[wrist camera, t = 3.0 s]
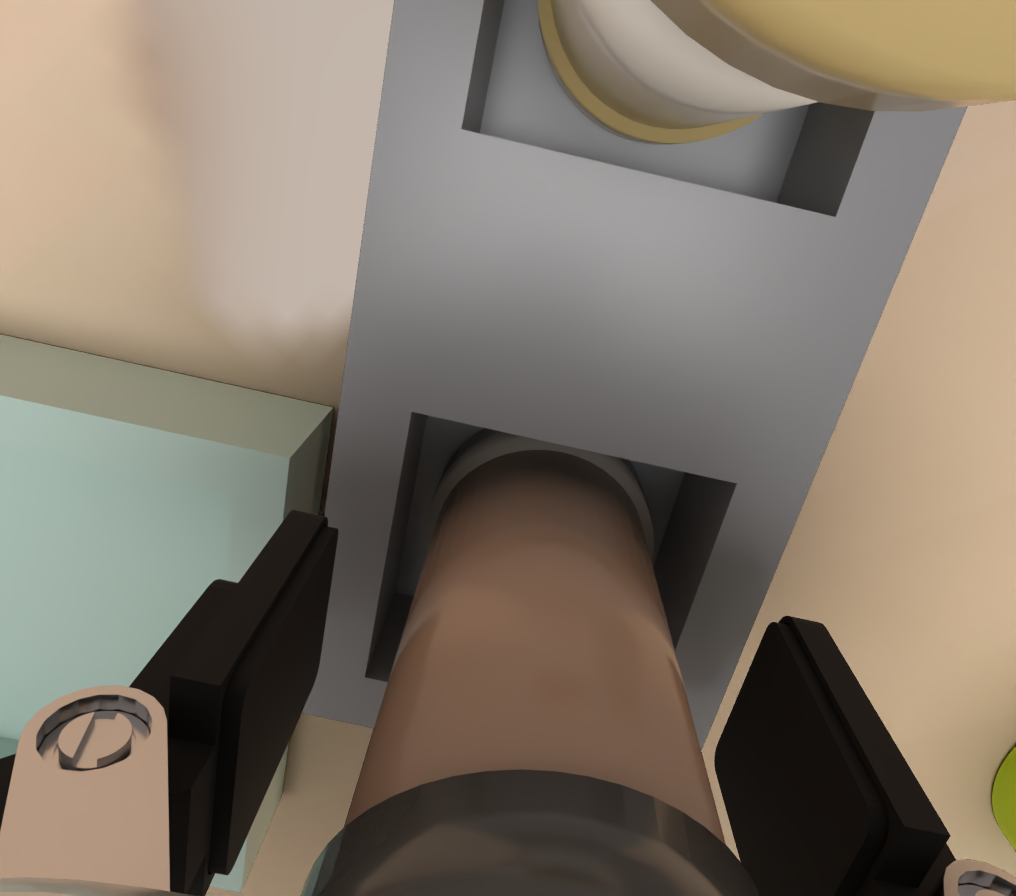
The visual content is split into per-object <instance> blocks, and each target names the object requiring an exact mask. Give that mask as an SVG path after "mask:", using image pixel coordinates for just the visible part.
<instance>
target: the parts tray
mask: <svg viewBox="0 0 1016 896" xmlns="http://www.w3.org/2000/svg"><path fill="white" fill-rule="evenodd" d="M332 414H333V407H329V406H325V405H320V404H316V403H311V402H307V401H302V400H297V399H293V398H288V397H284V396H279V395H275V394H270V393H266V392H261V391H257V390H252V389H247V388H243V387H238V386H234V385H229V384H225V383H220V382H216V381H211V380H207V379H202V378H197V377H193V376H188V375H184V374H179V373H175V372H170V371H166V370H161V369H156V368H152V367H147V366H143V365H138V364H134V363H129V362H125V361H120V360H116V359H111V358H106V357H102V356H97V355H93V354H88V353H84V352H79V351H75V350H70V349H66V348H61V347H56V346H52V345H47V344H43V343H38V342H34V341H29V340H25V339H20V338H16V337H11V336H6V335H2V334H0V759H1V758H4V757H7V756H10V755H13V754H16V752H17V747H18V742H19V739H20V737H21V734H22V732H23V730H24V728H25V725H26V724H27V723H28V722H29V721H30V720H31V718H32V717H33V716H34V715H35V714H36V713H37V712H38V711H39V710H40V709H42V708H43V707H45V706H46V705H48V704H49V703H51V702H53V701H54V700H56V699H57V698H60V697H62V696H65V695H67V694H70V693H72V692H75V691H77V690H81V689H86V688H91V687H96V686H125V687H129V686H130V685H131V683H132V682H133V681H134V680H135V678H136V677H137V676H138V675H139V673H140V672H141V671H142V670H143V668H144V667H145V666H146V664H147V663H148V662H149V661H150V659H151V658H152V657H153V656H154V654H155V653H156V652H157V651H158V649H159V648H160V647H161V646H162V644H163V643H164V642H165V640H166V639H167V638H168V637H169V635H170V634H171V633H172V632H173V630H174V629H175V628H176V627H177V625H178V624H179V623H180V622H181V620H182V619H183V618H184V616H185V615H186V614H187V613H188V611H189V610H190V609H191V608H192V606H193V605H194V604H195V603H196V601H197V600H198V599H199V598H200V596H201V595H202V594H203V592H204V591H205V590H206V589H207V587H208V586H209V585H210V584H211V583H212V582H213V581H214V580H217V579H222V580H227V581H231V582H236V583H238V582H239V581H240V580H241V578H242V577H243V575H244V574H245V573H246V571H247V570H248V569H249V567H250V566H251V564H252V563H253V562H254V560H255V559H256V558H257V556H258V555H259V553H260V552H261V551H262V549H263V548H264V547H265V545H266V544H267V542H268V541H269V540H270V538H271V537H272V536H273V534H274V533H275V531H276V530H277V529H278V527H279V526H280V525H281V523H282V522H283V520H284V519H285V518H286V516H287V515H288V514H289V512H290V511H291V510H297V511H301V512H306V513H311V514H315V515H319V512H320V504H321V497H322V489H323V482H324V474H325V467H326V459H327V452H328V444H329V437H330V429H331V422H332ZM288 745H289V743H288ZM288 745H287V747H286V749H285V752H284V754H283V756H282V758H281V761H280V763H279V765H278V767H277V770H276V772H275V774H274V776H273V779H272V781H271V783H270V785H269V788H268V790H267V792H266V795H265V797H264V799H263V801H262V804H261V806H260V808H259V810H258V813H257V815H256V817H255V819H254V822H253V824H252V826H251V828H250V831H249V833H248V835H247V838H246V840H245V842H244V844H243V847H242V849H241V851H240V853H239V856H238V858H237V860H236V862H235V865H234V867H233V869H232V871H231V872H230V874H229V875H222V874H217V873H215V875H214V877H213V879H212V882H211V884H210V886H209V887H212V888H218V889H223V890H228V891H233V892H238V893H241V892H242V890H243V887H244V885H245V882H246V880H247V878H248V875H249V873H250V870H251V868H252V866H253V863H254V861H255V858H256V856H257V854H258V851H259V849H260V846H261V844H262V842H263V839H264V837H265V834H266V832H267V830H268V827H269V825H270V822H271V820H272V818H273V815H274V813H275V810H276V808H277V806H278V803H279V801H280V798H281V796H282V790H283V783H284V775H285V768H286V760H287V753H288Z"/></svg>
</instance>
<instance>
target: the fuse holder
mask: <svg viewBox="0 0 1016 896" xmlns="http://www.w3.org/2000/svg"><path fill="white" fill-rule="evenodd" d="M966 109H967V106H965V107H957V108H949V109H941V110H933V111H924V112H913V111H869V110H863V109H857V108H851V107H845V106H838V105H832V104H826V103H821V102H816V103H812V104H807V105H803V106H798V107H793V108H789V109H784V110H779V111H775V112H770V113H766V114H763V115H761V116H760V117H759V118H757V119H755V120H754V121H752V122H750V123H748V124H746V125H745V126H743V127H741V128H739V129H737V130H734V131H732V132H729V133H727V134H724V135H722V136H718V137H715V138H711V139H707V140H703V141H696V142H688V143H680V144H672V145H652V144H646V143H639V142H635V141H631V140H628V139H625V138H622V137H619V136H617V135H615V134H613V133H611V132H609V131H607V130H605V129H603V128H602V127H600V126H599V125H597V124H596V123H594V122H593V121H591V120H590V119H589V118H588V117H587V116H586V115H585V114H583V113H582V112H581V111H580V110H579V109H578V108H577V107H576V106H575V104H574V103H573V102H572V101H571V100H570V99H569V97H568V96H567V95H566V93H565V92H564V90H563V89H562V87H561V86H560V84H559V82H558V81H557V79H556V77H555V75H554V73H553V71H552V68H551V66H550V64H549V61H548V58H547V55H546V52H545V49H544V46H543V42H542V37H541V32H540V27H539V17H538V4H537V0H394V6H393V14H392V21H391V29H390V36H389V43H388V50H387V58H386V65H385V72H384V80H383V88H382V95H381V102H380V109H379V117H378V124H377V131H376V139H375V146H374V153H373V161H372V168H371V176H370V183H369V190H368V198H367V205H366V212H365V220H364V227H363V234H362V242H361V249H360V257H359V264H358V272H357V279H356V286H355V293H354V301H353V308H352V315H351V323H350V330H349V337H348V345H347V352H346V359H345V367H344V374H343V381H342V389H341V396H340V404H339V411H338V418H337V426H336V433H335V440H334V448H333V455H332V462H331V470H330V477H329V484H328V492H327V499H326V507H325V514H324V516H325V517H327V519H328V527H333V528H337V529H338V541H337V548H336V555H335V562H334V569H333V576H332V582H331V589H330V596H329V603H328V610H327V617H326V624H325V630H324V637H323V644H322V651H321V658H320V664H319V669H318V673H317V677H316V680H315V683H314V686H313V688H312V690H311V693H310V695H309V697H308V700H307V702H306V704H305V706H304V709H303V711H302V713H303V714H307V715H312V716H317V717H322V718H327V719H332V720H337V721H342V722H346V723H351V724H356V725H361V726H366V727H371V728H374V726H375V723H376V720H377V716H378V713H379V710H380V706H381V703H382V700H383V697H384V693H385V690H386V687H387V683H388V680H389V677H390V673H391V670H392V667H393V664H394V660H395V657H396V654H397V650H398V647H399V644H400V641H401V637H402V634H403V631H404V627H405V624H406V621H407V617H408V614H409V611H410V608H411V604H412V601H413V598H414V594H415V591H416V588H417V585H418V581H419V578H420V575H421V571H422V568H423V565H424V561H425V558H426V552H425V528H426V521H427V518H428V514H429V510H430V507H431V504H432V501H433V498H434V495H435V492H436V489H437V486H438V483H439V480H440V478H441V475H442V473H443V471H444V469H445V467H446V465H447V463H448V462H449V460H450V458H451V457H452V456H453V454H454V453H455V452H456V451H457V450H458V448H459V447H460V446H461V445H462V444H463V443H464V442H466V441H467V440H468V439H469V438H470V437H471V436H473V435H474V434H476V433H477V432H479V431H480V430H482V429H483V428H487V429H492V430H496V431H501V432H505V433H510V434H514V435H519V436H523V437H528V438H533V439H537V440H542V441H546V442H551V443H555V444H560V445H564V446H569V447H573V448H578V449H582V450H587V451H592V452H596V453H601V454H605V455H610V456H614V457H619V458H623V459H628V460H630V462H631V463H632V465H633V467H634V469H635V471H636V473H637V475H638V478H639V481H640V483H641V486H642V490H643V493H644V497H645V500H646V503H647V507H648V510H649V514H650V517H651V522H652V527H653V534H654V549H653V558H652V565H653V569H654V573H655V577H656V581H657V584H658V588H659V592H660V596H661V600H662V603H663V607H664V611H665V615H666V619H667V623H668V626H669V630H670V634H671V638H672V642H673V645H674V649H675V653H676V657H677V661H678V665H679V668H680V672H681V676H682V680H683V684H684V687H685V691H686V695H687V699H688V703H689V706H690V710H691V714H692V718H693V722H694V726H695V729H696V733H697V737H698V741H699V745H700V748H701V750H702V748H703V745H704V743H705V740H706V738H707V736H708V733H709V731H710V728H711V726H712V723H713V721H714V719H715V716H716V714H717V711H718V709H719V707H720V704H721V702H722V699H723V697H724V694H725V692H726V690H727V687H728V685H729V682H730V680H731V677H732V675H733V673H734V670H735V668H736V665H737V663H738V661H739V658H740V656H741V653H742V651H743V648H744V646H745V644H746V641H747V639H748V636H749V634H750V632H751V629H752V627H753V624H754V622H755V619H756V617H757V615H758V612H759V610H760V607H761V605H762V602H763V600H764V598H765V595H766V593H767V590H768V588H769V586H770V583H771V581H772V578H773V576H774V573H775V571H776V569H777V566H778V564H779V561H780V559H781V556H782V554H783V552H784V549H785V547H786V544H787V542H788V540H789V537H790V535H791V532H792V530H793V527H794V525H795V523H796V520H797V518H798V515H799V513H800V511H801V508H802V506H803V503H804V501H805V498H806V496H807V494H808V491H809V489H810V486H811V484H812V481H813V479H814V477H815V474H816V472H817V469H818V467H819V465H820V462H821V460H822V457H823V455H824V452H825V450H826V448H827V445H828V443H829V440H830V438H831V436H832V433H833V431H834V428H835V426H836V423H837V421H838V419H839V416H840V414H841V411H842V409H843V406H844V404H845V402H846V399H847V397H848V394H849V392H850V390H851V387H852V385H853V382H854V380H855V377H856V375H857V373H858V370H859V368H860V365H861V363H862V361H863V358H864V356H865V353H866V351H867V348H868V346H869V344H870V341H871V339H872V336H873V334H874V331H875V329H876V327H877V324H878V322H879V319H880V317H881V315H882V312H883V310H884V307H885V305H886V302H887V300H888V298H889V295H890V293H891V290H892V288H893V285H894V283H895V281H896V278H897V276H898V273H899V271H900V269H901V266H902V264H903V261H904V259H905V256H906V254H907V252H908V249H909V247H910V244H911V242H912V240H913V237H914V235H915V232H916V230H917V227H918V225H919V223H920V220H921V218H922V215H923V213H924V210H925V208H926V206H927V203H928V201H929V198H930V196H931V194H932V191H933V189H934V186H935V184H936V181H937V179H938V177H939V174H940V172H941V169H942V167H943V165H944V162H945V160H946V157H947V155H948V152H949V150H950V148H951V145H952V143H953V140H954V138H955V135H956V133H957V131H958V128H959V126H960V123H961V121H962V119H963V116H964V114H965V111H966Z"/></svg>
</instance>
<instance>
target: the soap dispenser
mask: <svg viewBox="0 0 1016 896" xmlns="http://www.w3.org/2000/svg"><path fill="white" fill-rule="evenodd" d="M992 807H993V812H994V816H995V819H996V821H997V824H998V825H999V827H1000V829H1001V831H1002V832H1003V834H1004V835H1005V837H1006V838H1007V839H1008V841H1009V842H1010V844H1011V845H1012V847H1013V848H1014V850H1015V851H1016V746H1015V747H1014V749H1013V750H1012V751H1011V752H1010V753H1009V755H1008V756H1007V758H1006V759H1005V760H1004V762H1003V764H1002V765H1001V767H1000V769H999V771H998V773H997V776H996V779H995V782H994V786H993V791H992Z"/></svg>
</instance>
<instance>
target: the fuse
mask: <svg viewBox="0 0 1016 896" xmlns="http://www.w3.org/2000/svg"><path fill="white" fill-rule="evenodd" d="M537 4H538V17H539V27H540V32H541V37H542V42H543V46H544V49H545V52H546V55H547V58H548V61H549V64H550V66H551V68H552V71H553V73H554V75H555V77H556V79H557V81H558V82H559V84H560V86H561V87H562V89H563V90H564V92H565V93H566V95H567V96H568V97H569V99H570V100H571V101H572V102H573V103H574V104H575V106H576V107H577V108H578V109H579V110H580V111H581V112H582V113H583V114H585V115H586V116H587V117H588V118H589V119H590V120H591V121H593V122H594V123H596V124H597V125H599V126H600V127H602V128H603V129H605V130H607V131H609V132H611V133H613V134H615V135H617V136H619V137H622V138H625V139H628V140H631V141H635V142H639V143H646V144H652V145H672V144H680V143H688V142H696V141H703V140H707V139H711V138H715V137H718V136H722V135H724V134H727V133H729V132H732V131H734V130H737V129H739V128H741V127H743V126H745V125H746V124H748V123H750V122H752V121H754V120H755V119H757V118H759V117H760V116H761V115H763V114H766V113H770V112H775V111H779V110H784V109H789V108H793V107H798V106H803V105H807V104H812V103H816V102H821V103H826V104H832V105H838V106H845V107H851V108H857V109H863V110H869V111H913V112H924V111H933V110H941V109H949V108H957V107H965V106H973V105H981V104H989V103H997V102H1004V101H1012V100H1016V0H537Z"/></svg>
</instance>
